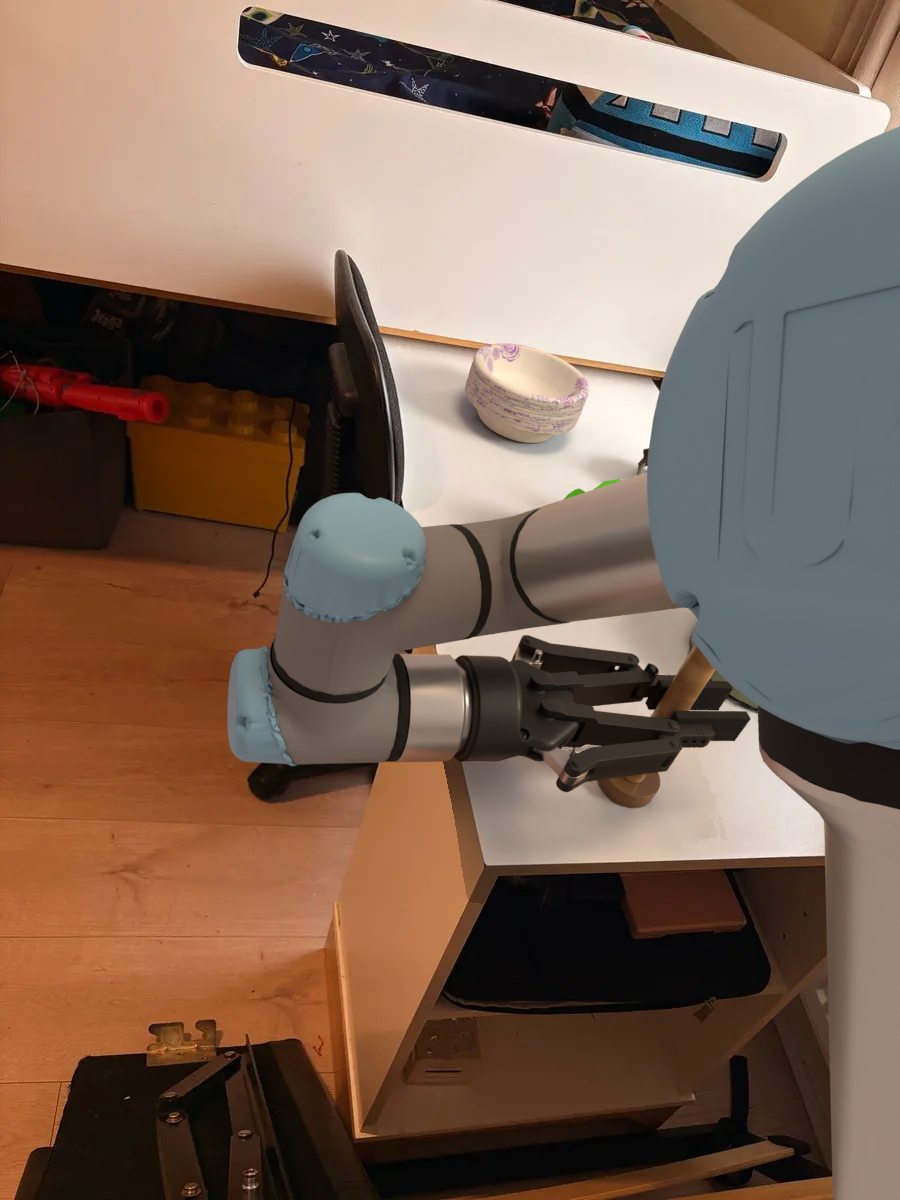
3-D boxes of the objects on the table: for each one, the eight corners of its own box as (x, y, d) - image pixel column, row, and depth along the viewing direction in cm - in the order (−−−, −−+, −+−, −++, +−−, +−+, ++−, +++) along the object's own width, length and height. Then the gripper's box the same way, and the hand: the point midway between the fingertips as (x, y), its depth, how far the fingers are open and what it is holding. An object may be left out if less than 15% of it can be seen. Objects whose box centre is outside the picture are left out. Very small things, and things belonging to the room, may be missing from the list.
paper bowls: (482, 381, 124) (499, 328, 119) (582, 425, 122) (603, 373, 117) (440, 422, 113) (456, 365, 108) (549, 472, 110) (572, 416, 105)
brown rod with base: (662, 807, 74) (763, 662, 63) (608, 809, 73) (703, 660, 62) (640, 759, 78) (732, 613, 67) (589, 759, 76) (675, 610, 65)
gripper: (420, 664, 71) (674, 671, 79) (463, 832, 60) (753, 821, 68) (444, 594, 67) (712, 609, 74) (495, 764, 56) (803, 760, 63)
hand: (731, 710), depth 71 cm, fingers open, 2 cm apart
